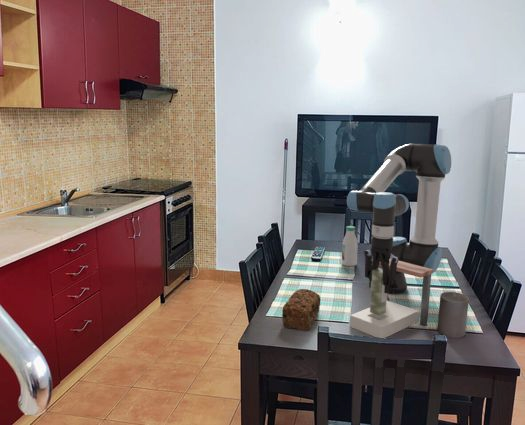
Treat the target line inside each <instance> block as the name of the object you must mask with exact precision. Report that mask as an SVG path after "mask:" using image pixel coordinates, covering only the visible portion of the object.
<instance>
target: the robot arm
mask: <svg viewBox="0 0 525 425" xmlns="http://www.w3.org/2000/svg"><path fill="white" fill-rule="evenodd" d="M451 169H452V154H451V151H450V149H449V147H448V146H446V145H444V144H443V145H442V144H427V143H426V144H425V143H408V144H404V145H402V146H398V147H397V148H395V149H393V150H392V151H391V152H390V153H389V154H387V156H386V157H385V158H384V160H383V164H382V165H381V166H380V167H379V168H378V169H377V171H376V172H375V173H374V174H373V175H372V176H371V177H370V178H369V180H368V181H367V182H366V183H365V184H364V185H363V186H362V187H361V189H360V190H351V191H349V193H348V194H347V197H346V205H347V208H348V209H349V210H351V211H357V212H362V213H371V214H372V224H371V237H370V238H371V240H370V241H371V242H370V246H371V248H370V249H367V250H365V251H363V254H364V259H365V261H364V262H365V264H364V266H365V267H364V277H365V278H367V279H368V281H369V283H368V285H369V286H368V287H369V289H371V285H372V270H375V269H378V266H379V263H380V262H381V266H382V269H383V278H384V283H383V284H382V294H381V302H384V301H388V294H389V295H390V294H393V295H394V294H395V295H396V294H403V293H406V292H407V290H408V284H407V283H408V282H407V278H406V275H405V273H402V272H398V271H396V270H397V263H398V261H402V262H406V263H410V264H414V265H418V266H422V267H426V268H430V269H433V273H435V272H437V269H438V268H439V266H440V264H441V263H442V262H441V261H442V258H443V249H442V247H440V246H439V241H438V240H437V239H436V232H437V223H438V220H437V219H438V211H439V202H440V191H441V183H442V181H444V180H445V178H446V175H447V174H450V172H451ZM404 172H416V173H415V177H416V179H418V190H417V200H416V201H417V202H416V209H415V210H416V212H415V221H414V223H415V224H414V233H413V236H412V237H411V238H410V239H409V242H407V241H408V240H407V238H406V237H404V236H394V234H395V233H394V232H395V219H396V218H395V217H397V216H401V215H404V213H406V212H407V211H408V209H409V206H410V202H409V199H408V198H407V197H406V196H405V195H404V194H401V193H396V194H395V193H393V192H386V191H387V189H388V188H389V186H390V185H391V184H392V183H393V182H394V180H396V178H397V177H398V176H400V175H402V174H404ZM390 258H391V260H390V261H391V263H390V262H389V259H390ZM372 259H373V260H372ZM389 264H390V269H389ZM433 273H432V274H433ZM369 296H370V299H371V291H370V295H369Z"/></svg>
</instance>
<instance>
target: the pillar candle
mask: <svg viewBox="0 0 525 425" xmlns="http://www.w3.org/2000/svg"><path fill="white" fill-rule="evenodd" d="M469 301H470V298H469V296H467V295H466V294H463V293H461V292H456V291H446V292H445V291H444V292H442V293H441V294H440V297H439V307H438V317H437V325H436V326H437V327H436V331H437V333H438V334H439V335H441V334H443V335H445V336H444V337H446V336H447V337H446V338H451V339H461V338H464V336H465V335H466V330H467V322H468V321H467V320H468V311H469V310H468V309H469V303H470V302H469ZM443 335H442V336H443Z"/></svg>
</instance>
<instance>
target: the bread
mask: <svg viewBox="0 0 525 425" xmlns="http://www.w3.org/2000/svg"><path fill="white" fill-rule="evenodd" d="M320 307H321V296H320V294H318V293H317V292H315V291H313V290H312V289H306V288H299V289H297V290H296V291H294V292H293V293H292V295H291V296H290V297H289V298H288V300H287V301H286V302H285V303H284V304H283V307H282V310H281V312H282V314H281V315H282V318H281V320H282V326H283V327H284V328H289V329H297V330H299V331H304V332H305V331H306V332H307V331H309V329H310V328H311V327H312V325H313V324H314V322H315V321H316V319H317V317H318V315H319V313H320Z"/></svg>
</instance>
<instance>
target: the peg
mask: <svg viewBox="0 0 525 425" xmlns="http://www.w3.org/2000/svg"><path fill="white" fill-rule="evenodd" d="M383 283H384V278H383V269H381V268H378V269H375V270H372V285H371V288H370V292H371V298H370V302H369V303H370V307H369V308H370V312H371V313H374V314H376V315H381V314H384V313H386V301H384V302H381V294H382V284H383Z"/></svg>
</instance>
